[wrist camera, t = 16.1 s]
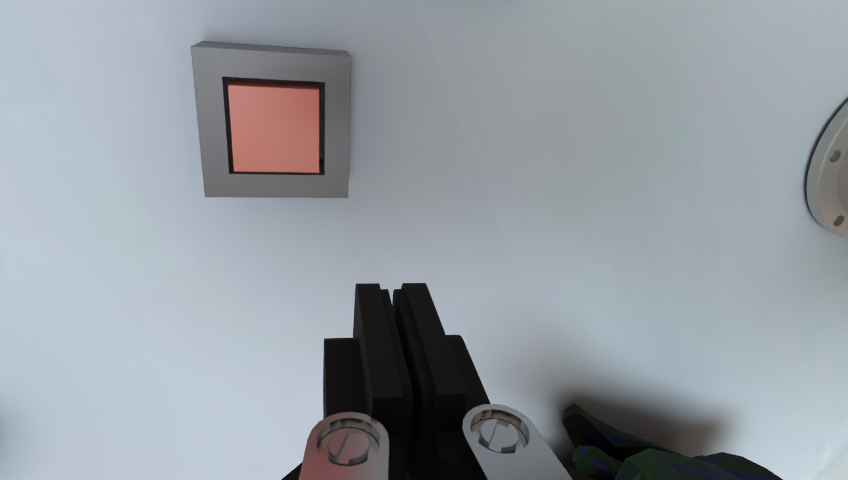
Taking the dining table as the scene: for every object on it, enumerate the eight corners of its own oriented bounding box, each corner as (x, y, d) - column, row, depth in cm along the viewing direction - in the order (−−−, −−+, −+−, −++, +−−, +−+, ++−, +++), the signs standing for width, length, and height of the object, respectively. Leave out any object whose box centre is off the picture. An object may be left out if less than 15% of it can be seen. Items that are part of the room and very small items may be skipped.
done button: (317, 81, 27) (318, 89, 24) (317, 157, 28) (319, 172, 26) (234, 76, 26) (228, 85, 23) (239, 155, 27) (233, 171, 25)
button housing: (346, 51, 27) (351, 57, 24) (343, 179, 30) (347, 197, 27) (202, 41, 25) (190, 46, 23) (213, 178, 28) (205, 197, 26)
